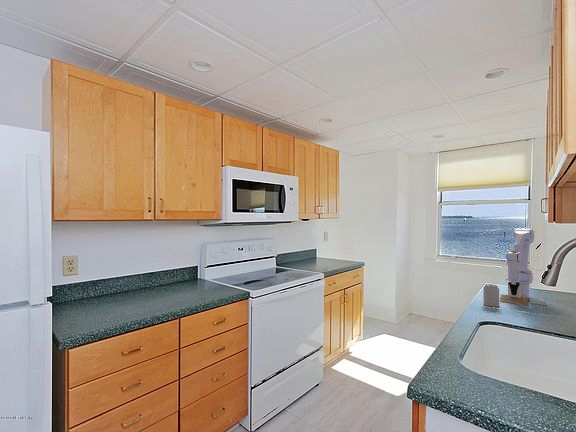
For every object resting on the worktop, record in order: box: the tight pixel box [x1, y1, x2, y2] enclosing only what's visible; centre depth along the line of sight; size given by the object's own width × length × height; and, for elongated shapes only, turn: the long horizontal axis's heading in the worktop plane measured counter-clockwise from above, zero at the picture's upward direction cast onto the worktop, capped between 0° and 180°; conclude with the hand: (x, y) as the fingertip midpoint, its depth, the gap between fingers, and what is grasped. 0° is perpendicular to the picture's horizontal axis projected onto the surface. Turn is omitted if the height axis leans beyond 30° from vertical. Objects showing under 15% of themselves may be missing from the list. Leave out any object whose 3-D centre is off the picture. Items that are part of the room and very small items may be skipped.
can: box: [482, 283, 500, 308], centre depth 173 cm, size 8×8×12 cm
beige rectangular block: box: [507, 284, 520, 298], centre depth 184 cm, size 2×6×9 cm, turn 52°
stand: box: [529, 297, 547, 306], centre depth 177 cm, size 6×7×3 cm
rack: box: [499, 293, 529, 306], centre depth 182 cm, size 13×13×3 cm
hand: (514, 294), depth 184 cm, fingers open, 2 cm apart
